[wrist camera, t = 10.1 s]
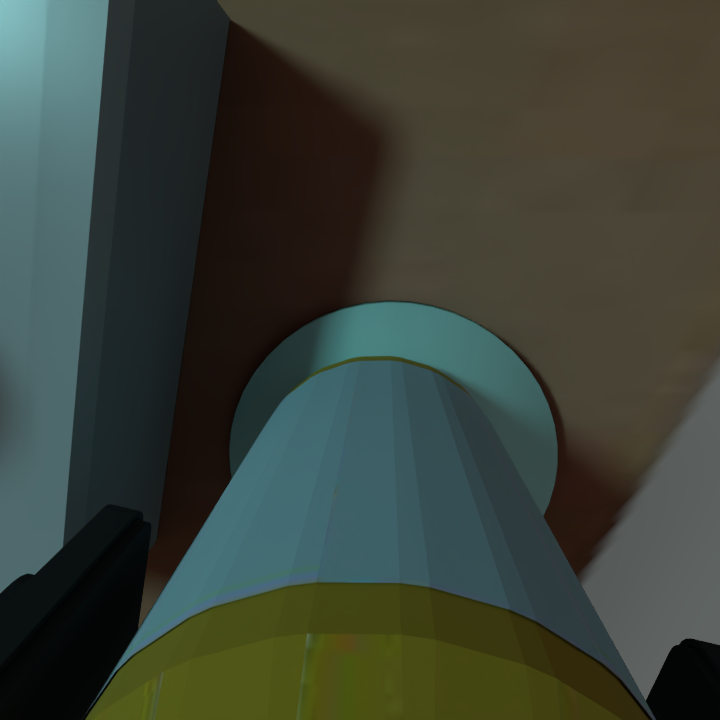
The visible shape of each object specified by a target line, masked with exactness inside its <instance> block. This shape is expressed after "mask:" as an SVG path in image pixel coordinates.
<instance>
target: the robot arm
mask: <svg viewBox="0 0 720 720" xmlns="http://www.w3.org/2000/svg"><path fill="white" fill-rule="evenodd" d="M150 536H151V523H150V522H146V521H143V513H142V512H141V511H138V510H134V509H129V508H125V507H121V506H117V505H112V504H109V505H106V506H105V507H104V508H102V509H101V510H100V511H99V512H98V513H97V514H96V515H95V516H94V517H93V518H92V519H91V520H90V521H89V522H88V523H87V524H86V525H85V526H84V527H83V528H82V529H81V530H80V531H79V532H78V533H77V534H76V535H75V536H74V537H73V538H72V539H71V540H70V541H69V542H68V543H67V544H66V545H65V546H64V547H63V548H62V549H61V550H60V551H59V552H58V553H56V554H55V555H54V556H53V557H52V558H51V559H50V560H49V561H48V562H47V563H46V564H45V565H44V566H43V567H42V568H41V569H40V570H39V571H38V572H37V573H36V574H35V575H33V574H29V573H28V574H25V575H22V576H20V577H19V578H17V579H16V580H15V581H13V582H12V583H11V584H10V585H9V586H8V587H7V588H5V589H4V590H3V591H2V592H1V593H0V720H82V719H83V717H84V716H85V714H86V713H87V711H88V709H89V708H90V706H91V705H92V703H93V701H94V700H95V698H96V697H97V695H98V693H99V692H100V690H101V689H102V687H103V685H104V684H105V682H106V681H107V679H108V677H109V676H110V674H111V672H112V671H113V669H114V668H115V666H116V664H117V663H118V661H119V660H120V658H121V656H122V655H123V653H124V652H125V650H126V648H127V647H128V645H129V644H130V642H131V640H132V639H133V637H134V636H135V634H136V632H137V631H138V624H139V617H140V609H141V602H142V595H143V587H144V580H145V573H146V565H147V558H148V551H149V543H150ZM646 703H647V704H648V706H649V708H650V710H651V712H652V714H653V715H654V717H655V719H656V720H720V645H716V644H712V643H708V642H703V641H699V640H695V639H685V640H683V641H681V643H680V644H679V645H676V646H674V647H673V648H672V649H671V651H670V652H669V654H668V656H667V658H666V660H665V662H664V665H663V667H662V669H661V671H660V673H659V675H658V677H657V679H656V681H655V683H654V685H653V687H652V689H651V691H650V693H649V695H648V698H647V700H646Z"/></svg>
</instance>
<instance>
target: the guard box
mask: <svg viewBox="0 0 720 720" xmlns="http://www.w3.org/2000/svg"><path fill="white" fill-rule="evenodd" d="M229 22H230V18H229V17H228V15H227V14H226V13H225V11H224V10H223V8H222V7H221V6H220V4H219V3H218V2H217V0H0V593H1V592H2V591H3V590H4V589H5V588H7V587H8V586H9V585H10V584H11V583H12V582H13V581H15V580H16V579H17V578H19V577H20V576H22V575H25V574H28V573H29V574H33V575H35V574H36V573H37V572H38V571H39V570H40V569H41V568H42V567H43V566H44V565H45V564H46V563H47V562H48V561H49V560H50V559H51V558H52V557H53V556H54V555H55V554H56V553H58V552H59V551H60V550H61V549H62V548H63V547H64V546H65V545H66V544H67V543H68V542H69V541H70V540H71V539H72V538H73V537H74V536H75V535H76V534H77V533H78V532H79V531H80V530H81V529H82V528H83V527H84V526H85V525H86V524H87V523H88V522H89V521H90V520H91V519H92V518H93V517H94V516H95V515H96V514H97V513H98V512H99V511H100V510H101V509H102V508H104V507H105V506H106V505H109V504H112V505H117V506H121V507H125V508H129V509H134V510H138V511H141V512H142V513H143V521H146V522H150V523H151V536H150V543H149V550H150V549H151V548H152V546H153V545H154V544H155V542H156V540H157V533H158V526H159V519H160V512H161V505H162V498H163V490H164V483H165V476H166V469H167V462H168V455H169V448H170V441H171V434H172V427H173V419H174V412H175V405H176V398H177V391H178V384H179V377H180V370H181V363H182V356H183V348H184V341H185V334H186V327H187V320H188V313H189V306H190V299H191V292H192V284H193V277H194V270H195V263H196V256H197V249H198V242H199V235H200V228H201V221H202V213H203V206H204V199H205V192H206V185H207V178H208V171H209V164H210V157H211V150H212V142H213V135H214V128H215V121H216V114H217V107H218V100H219V93H220V86H221V79H222V71H223V64H224V57H225V50H226V43H227V36H228V29H229ZM148 552H149V551H148Z"/></svg>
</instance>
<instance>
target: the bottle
mask: <svg viewBox="0 0 720 720" xmlns="http://www.w3.org/2000/svg"><path fill="white" fill-rule="evenodd" d="M82 720H656V719H655V717H654V715H653V714H652V712H651V710H650V708H649V706H648V704H647V703H646V701H645V699H644V697H643V696H642V694H641V692H640V690H639V689H638V687H637V685H636V683H635V681H634V679H633V678H632V676H631V674H630V672H629V670H628V669H627V667H626V665H625V663H624V661H623V659H622V658H621V656H620V654H619V652H618V650H617V649H616V647H615V645H614V643H613V641H612V640H611V638H610V636H609V634H608V633H607V631H606V629H605V627H604V625H603V624H602V622H601V620H600V618H599V616H598V615H597V613H596V611H595V609H594V607H593V606H592V604H591V602H590V600H589V598H588V597H587V595H586V593H585V591H584V589H583V587H582V586H581V584H580V582H579V580H578V578H577V577H576V575H575V573H574V571H573V569H572V568H571V566H570V564H569V562H568V560H567V559H566V557H565V555H564V553H563V551H562V550H561V548H560V546H559V544H558V542H557V541H556V539H555V537H554V535H553V533H552V532H551V530H550V528H549V526H548V524H547V523H546V521H545V519H544V517H543V515H542V514H541V512H540V510H539V508H538V506H537V505H536V503H535V501H534V499H533V497H532V496H531V494H530V492H529V490H528V488H527V487H526V485H525V483H524V481H523V479H522V478H521V476H520V474H519V472H518V470H517V469H516V467H515V465H514V463H513V461H512V460H511V458H510V456H509V454H508V452H507V451H506V449H505V447H504V445H503V443H502V442H501V440H500V438H499V436H498V434H497V433H496V431H495V429H494V427H493V425H492V424H491V422H490V421H489V419H488V418H487V417H486V415H485V414H484V412H483V411H482V410H481V408H480V407H479V406H478V404H477V403H476V402H475V400H474V399H473V398H472V397H471V395H470V394H469V393H468V392H467V391H466V390H465V389H464V388H463V387H462V386H461V385H459V384H458V383H456V382H455V381H453V380H452V379H451V378H449V377H448V376H446V375H445V374H443V373H442V372H440V371H439V370H437V369H435V368H433V367H431V366H428V365H425V364H422V363H418V362H415V361H412V360H408V359H405V358H401V357H395V356H361V357H355V358H350V359H347V360H344V361H341V362H338V363H335V364H332V365H329V366H326V367H323V368H322V369H320V370H318V371H316V372H314V373H313V374H311V375H310V376H309V377H307V378H306V379H305V380H303V381H302V382H301V383H299V384H298V385H297V386H295V387H294V388H293V389H292V390H291V391H290V392H289V393H288V394H287V395H286V396H285V398H284V399H283V401H282V402H281V403H280V404H279V406H278V407H277V409H276V410H275V412H274V413H273V415H272V416H271V418H270V419H269V421H268V422H267V424H266V425H265V427H264V428H263V430H262V431H261V433H260V435H259V436H258V438H257V439H256V441H255V443H254V444H253V446H252V447H251V449H250V451H249V452H248V454H247V456H246V457H245V459H244V460H243V462H242V464H241V465H240V467H239V468H238V470H237V472H236V473H235V475H234V476H233V478H232V480H231V481H230V483H229V484H228V486H227V488H226V489H225V491H224V492H223V494H222V496H221V497H220V499H219V501H218V502H217V504H216V505H215V507H214V509H213V510H212V512H211V513H210V515H209V517H208V518H207V520H206V521H205V523H204V525H203V526H202V528H201V529H200V531H199V533H198V534H197V536H196V537H195V539H194V541H193V542H192V544H191V546H190V547H189V549H188V550H187V552H186V554H185V555H184V557H183V558H182V560H181V562H180V563H179V565H178V566H177V568H176V570H175V571H174V573H173V574H172V576H171V578H170V579H169V581H168V582H167V584H166V586H165V587H164V589H163V591H162V592H161V594H160V595H159V597H158V599H157V600H156V602H155V603H154V605H153V607H152V608H151V610H150V611H149V613H148V615H147V616H146V618H145V619H144V621H143V623H142V624H141V626H140V627H139V629H138V631H137V632H136V634H135V636H134V637H133V639H132V640H131V642H130V644H129V645H128V647H127V648H126V650H125V652H124V653H123V655H122V656H121V658H120V660H119V661H118V663H117V664H116V666H115V668H114V669H113V671H112V672H111V674H110V676H109V677H108V679H107V681H106V682H105V684H104V685H103V687H102V689H101V690H100V692H99V693H98V695H97V697H96V698H95V700H94V701H93V703H92V705H91V706H90V708H89V709H88V711H87V713H86V714H85V716H84V717H83V719H82Z"/></svg>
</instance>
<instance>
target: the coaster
mask: <svg viewBox="0 0 720 720" xmlns="http://www.w3.org/2000/svg"><path fill="white" fill-rule="evenodd" d="M361 356H395V357H401V358H405V359H408V360H412V361H415V362H418V363H422V364H425V365H428V366H431V367H433V368H435V369H437V370H439V371H440V372H442V373H443V374H445V375H446V376H448V377H449V378H451V379H452V380H453V381H455V382H456V383H458V384H459V385H461V386H462V387H463V388H464V389H465V390H466V391H467V392H468V393H469V394H470V395H471V397H472V398H473V399H474V400H475V402H476V403H477V404H478V406H479V407H480V408H481V410H482V411H483V412H484V414H485V415H486V417H487V418H488V419H489V421H490V422H491V424H492V425H493V427H494V429H495V431H496V433H497V434H498V436H499V438H500V440H501V442H502V443H503V445H504V447H505V449H506V451H507V452H508V454H509V456H510V458H511V460H512V461H513V463H514V465H515V467H516V469H517V470H518V472H519V474H520V476H521V478H522V479H523V481H524V483H525V485H526V487H527V488H528V490H529V492H530V494H531V496H532V497H533V499H534V501H535V503H536V505H537V506H538V508H539V510H540V512H541V514H542V515H543V516H544V514H545V511H546V509H547V507H548V505H549V502H550V499H551V495H552V492H553V489H554V485H555V479H556V472H557V465H558V444H557V438H556V431H555V424H554V421H553V418H552V414H551V411H550V408H549V405H548V402H547V400H546V398H545V396H544V394H543V392H542V390H541V388H540V386H539V384H538V382H537V381H536V379H535V378H534V376H533V375H532V373H531V372H530V370H529V369H528V367H527V366H526V365H525V364H524V363H523V362H522V361H521V360H520V358H519V357H518V356H517V355H516V354H515V353H514V352H513V351H512V350H511V349H510V348H509V347H508V346H507V345H506V344H504V343H503V342H502V341H501V340H500V339H499V338H497V337H496V336H495V335H494V334H493V333H491V332H490V331H488V330H487V329H485V328H484V327H482V326H480V325H479V324H477V323H476V322H474V321H472V320H470V319H468V318H466V317H464V316H462V315H459V314H457V313H455V312H453V311H450V310H446V309H443V308H440V307H437V306H433V305H429V304H423V303H417V302H411V301H390V300H386V301H376V302H365V303H361V304H356V305H352V306H347V307H343V308H340V309H338V310H335V311H332V312H330V313H327V314H324V315H322V316H320V317H318V318H316V319H314V320H313V321H311V322H309V323H307V324H305V325H303V326H302V327H301V328H299V329H298V330H296V331H295V332H294V333H292V334H291V335H290V336H288V337H287V338H286V339H285V340H284V341H283V342H281V343H280V344H279V345H278V346H277V347H276V348H275V349H274V350H273V351H272V352H271V353H270V354H269V355H268V356H267V357H266V359H265V360H264V361H263V362H262V364H261V365H260V366H259V368H258V369H257V370H256V371H255V373H254V374H253V376H252V377H251V379H250V381H249V383H248V384H247V386H246V388H245V389H244V391H243V394H242V396H241V399H240V401H239V404H238V406H237V408H236V412H235V416H234V420H233V424H232V428H231V436H230V446H229V455H230V470H231V476H232V478H233V476H234V475H235V473H236V472H237V470H238V468H239V467H240V465H241V464H242V462H243V460H244V459H245V457H246V456H247V454H248V452H249V451H250V449H251V447H252V446H253V444H254V443H255V441H256V439H257V438H258V436H259V435H260V433H261V431H262V430H263V428H264V427H265V425H266V424H267V422H268V421H269V419H270V418H271V416H272V415H273V413H274V412H275V410H276V409H277V407H278V406H279V404H280V403H281V402H282V401H283V399H284V398H285V396H286V395H287V394H288V393H289V392H290V391H291V390H292V389H293V388H294V387H295V386H297V385H298V384H299V383H301V382H302V381H303V380H305V379H306V378H307V377H309V376H310V375H311V374H313V373H314V372H316V371H318V370H320V369H322V368H323V367H326V366H329V365H332V364H335V363H338V362H341V361H344V360H347V359H350V358H355V357H361Z"/></svg>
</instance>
